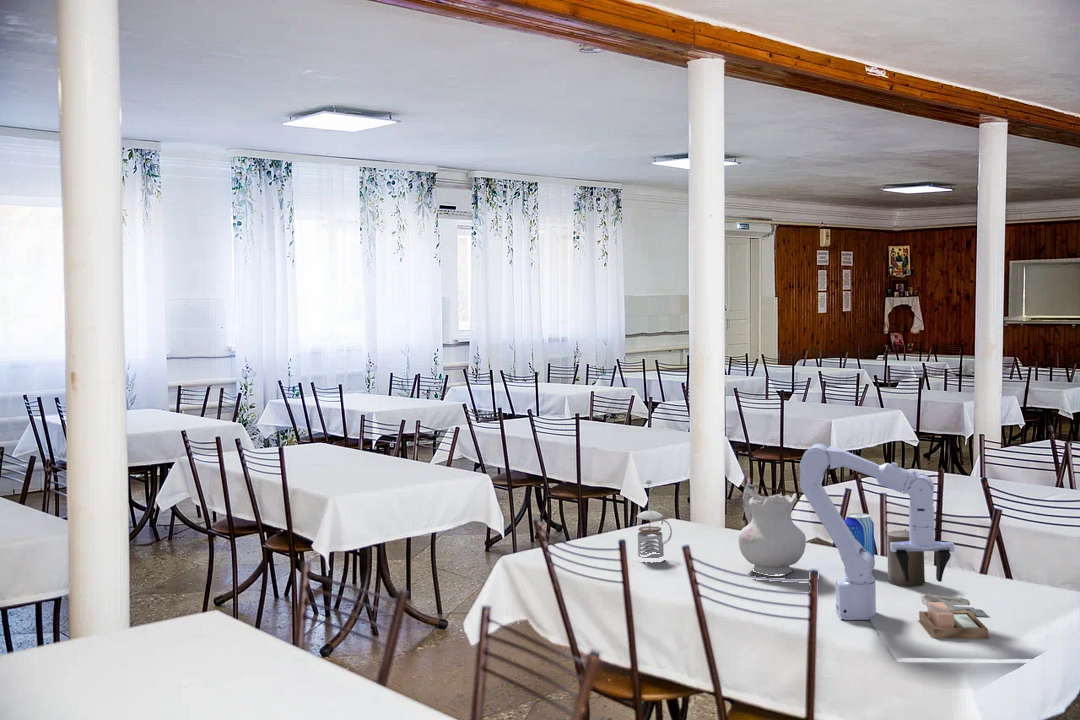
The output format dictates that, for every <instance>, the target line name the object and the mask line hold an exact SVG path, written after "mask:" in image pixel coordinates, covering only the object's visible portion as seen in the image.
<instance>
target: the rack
mask: <svg viewBox="0 0 1080 720" xmlns="http://www.w3.org/2000/svg"><path fill="white" fill-rule="evenodd" d="M951 612H952V613H953V614H959V615H967V616H968V617H969V618H970V619H971V620H972V621H973V622H974V623H975V624H976V625H977V626H978V627H979V628H961V627H960V625H959V624H958V623H957V622H956V621H955V620H954V628H936V626H935V625H934V624H933V623H932V622H931V621H930V619H929V618H928V610H927V611H926V610H925V611H923V610H922V611H921V610H919V612H918V614H919V615H918V616H919V617H918V618H919V620H917V622H918V623H919V624H920V625H921V626H922V628H923V629H924V631H926V633H927V634H928V635H929V636H930V638H931V639H957V640H958V639H962V640H963V639H967V640H968V639H969V640H970V639H971V640H973V639H975V640H980V639H981V640H982V639H984V640H985V639H986V640H990V639H991V638H990V637H989V629H988V627H987V626H986V625H985V624H984V623H982V621H981V620H979V618H978V617H975V616H974V615H973V614H972V613H971V612H963V611H951Z"/></svg>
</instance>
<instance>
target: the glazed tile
mask: <svg viewBox="0 0 1080 720" xmlns="http://www.w3.org/2000/svg"><path fill="white" fill-rule="evenodd" d="M954 620H955V621H956V622H957V623H958V624H959V625H960V627H961V628H979V627H978V626H977V625H976V624H975V623H974V622H973V621H972V620H971V619H970V618H969V617H968V616H967V615H959V614H954Z"/></svg>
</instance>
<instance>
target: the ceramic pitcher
mask: <svg viewBox="0 0 1080 720" xmlns="http://www.w3.org/2000/svg"><path fill="white" fill-rule="evenodd" d="M797 500H798V495H797V493H795V492H794V493H793V494H792V495H791V496H790V495H788V494H787V495H783V494H782V493H777V494H773V495H769V496H761V495H760V494H758V492H757V490H756V485H755V484H750V483H746V484H745V486H744V490H743V493H742V504H743V511H744V513H745V518H746V520H747V522H748V524H747V525H746V526H744V527H743V528H742V529H741V530H740V531H739V534H738V545H739V551H740V552H741V555H742V556H743V557H744V558H745V560H746V561H747V562H749V563H750V564H752V565H754V566H753V568H752V569H754V571H756V572H759V573H763V574H768V575H775V574H778V575H779V574H786V575H788V574H790V573H792V572H793V570H792V567H791V566H793V565H794V564H795V565H796V563H798V562H799V561H800V560H801V559H802V556H803V555H804V554H805V551H806V550H805V549H806V545H807V539H806V538H807V537H806V534H805V533H804V532H803V531H802V529H800V528H799V527H798V526H797V525H796V524H795V523H794V522H793V518H792V512H793V511H792V510H793V508H794V505H795V503H796V502H797ZM791 571H792V572H791ZM789 572H790V573H789Z"/></svg>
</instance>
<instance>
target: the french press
mask: <svg viewBox="0 0 1080 720" xmlns="http://www.w3.org/2000/svg"><path fill="white" fill-rule="evenodd" d="M652 484H653V483H652V480H651V479H648V480H647V479H646V480H645V485H647V486H650V485H652ZM650 501H651V500H650V498H648V510H645V511H642V512H640V513H638V514H637V515H636V518H637V519H639V520H642V521H643V520H645V521H649V525H648V526H646V525H645V526H642V527H638V531H639V532H637V557H638V556H639V557H641V556H640V554H641V555H647V554H649V553H652V552H656V553H660V554H651V555H649V556H647V557H642V558H659V557H662V556H664V557H665V555H664V552H665V551H664V545H665V544H667V543H668V542H670V540H671V538H672V534H673V529H672V527H671V525H670V522H668V521H667V520H665V519H662V517H663V514H662V513H660V512H658V511H655V510H651V505H650ZM660 519H661V521H660V522H661V525H664V522H665V523H666V524H667V526H669V528H670V529H669V530H670V534H669V537H668V538H667V539H666V540H663V532H661V530H662V527H660V526H651V521H656V520H660ZM650 535H651V536H650ZM645 552H647V553H645Z"/></svg>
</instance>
